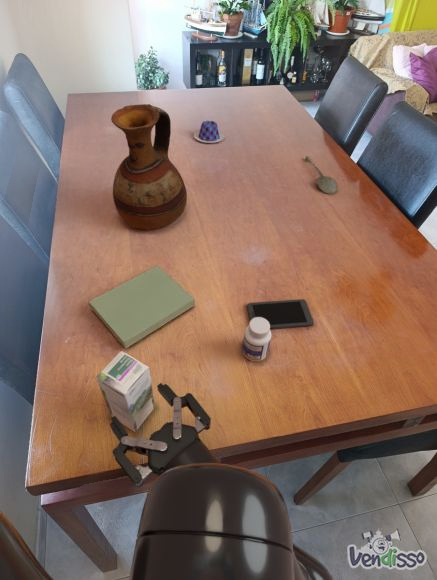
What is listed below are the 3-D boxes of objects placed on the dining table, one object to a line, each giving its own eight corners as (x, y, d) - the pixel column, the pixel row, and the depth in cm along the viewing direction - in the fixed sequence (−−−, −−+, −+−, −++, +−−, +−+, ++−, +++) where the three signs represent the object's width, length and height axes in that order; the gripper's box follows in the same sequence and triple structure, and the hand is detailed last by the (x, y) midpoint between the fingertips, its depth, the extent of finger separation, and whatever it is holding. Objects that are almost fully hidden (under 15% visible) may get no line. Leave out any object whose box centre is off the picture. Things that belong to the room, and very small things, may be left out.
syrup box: (131, 391, 70) (119, 348, 59) (156, 407, 68) (149, 365, 57) (110, 416, 66) (93, 375, 56) (136, 434, 64) (124, 394, 54)
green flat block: (126, 351, 76) (124, 342, 73) (91, 310, 82) (88, 301, 80) (194, 307, 84) (194, 298, 82) (158, 273, 91) (157, 265, 89)
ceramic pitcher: (102, 223, 104) (77, 112, 82) (142, 188, 116) (130, 84, 94) (164, 244, 99) (154, 132, 77) (198, 205, 111) (199, 100, 89)
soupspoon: (319, 196, 119) (338, 195, 120) (323, 187, 116) (342, 186, 117) (298, 159, 133) (315, 159, 134) (301, 150, 130) (318, 150, 131)
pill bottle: (255, 336, 79) (260, 309, 73) (272, 352, 77) (279, 326, 70) (236, 349, 77) (240, 323, 71) (254, 366, 74) (259, 341, 68)
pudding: (220, 146, 137) (221, 132, 133) (189, 141, 139) (189, 127, 135) (227, 132, 145) (228, 119, 141) (198, 128, 147) (198, 114, 143)
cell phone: (314, 325, 82) (315, 323, 81) (252, 330, 80) (252, 328, 80) (304, 300, 87) (305, 298, 86) (246, 305, 85) (246, 302, 85)
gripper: (241, 441, 52) (171, 364, 60) (157, 518, 45) (91, 420, 53) (237, 460, 58) (173, 387, 65) (162, 531, 51) (101, 440, 59)
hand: (136, 402), depth 59 cm, fingers open, 8 cm apart
